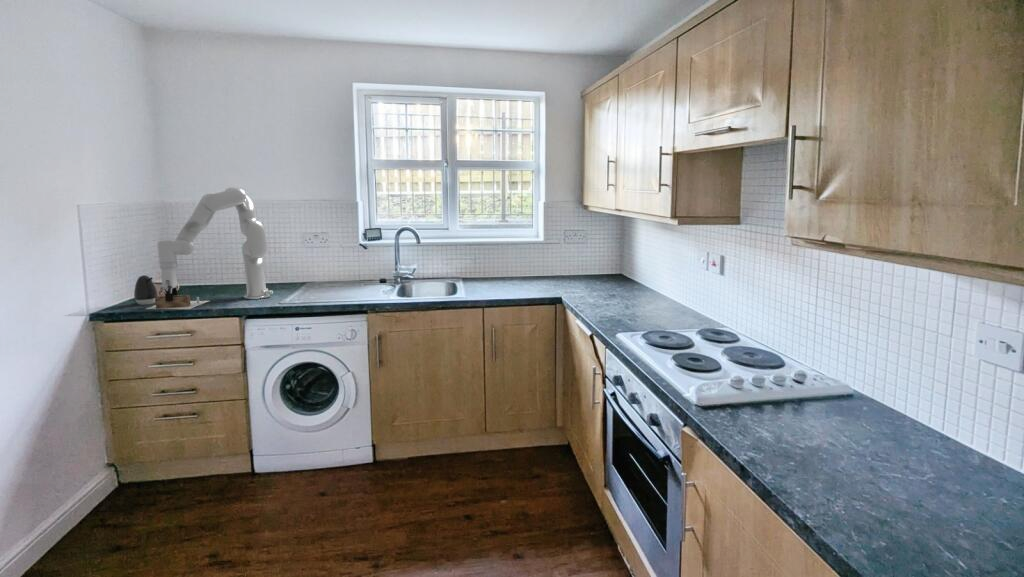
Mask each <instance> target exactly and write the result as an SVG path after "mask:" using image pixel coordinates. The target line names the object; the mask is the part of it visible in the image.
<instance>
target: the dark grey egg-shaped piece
mask: <svg viewBox="0 0 1024 577" xmlns="http://www.w3.org/2000/svg"><path fill="white" fill-rule="evenodd" d="M133 293H134V294H133V295H134V296H133V298H134V300H135V302H136V304H138V305H141V306H144V305H145V306H147V305H153V304H156V303H155V299H156V298H157V297H158V293H157V290H156V287H155V285H154V281H153V277H150V276H148V275H145V274H144V275H141V276H139V277H138V278H137V280H136V282H135V287H134V291H133Z"/></svg>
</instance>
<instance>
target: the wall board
mask: <svg viewBox="0 0 1024 577" xmlns="http://www.w3.org/2000/svg"><path fill="white" fill-rule="evenodd" d="M195 299H196V300H190V302H191V305H190V306H189V307H176V308H161V309H160V310H190V309H193V308H195V307H196V308H197V306H198V307H199V306H201V305H204V304H206V303H208V302H209V303H210V300H200V296H196V298H195ZM145 310H157V309H156V304H155V305H152V306H149V307H146V308H145Z"/></svg>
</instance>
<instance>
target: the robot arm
mask: <svg viewBox="0 0 1024 577" xmlns="http://www.w3.org/2000/svg"><path fill="white" fill-rule="evenodd" d="M233 207H235V209H236V211H237V214H238V219H239V228H240V232H241V233H242V235H244V237H245V238H246V241H244V242H243V244H242V247H241V253H242V257H243V262H244V274H245V283H246V284H245V285H246V294H245V295H244V296H243V298H244V299H247V300H259V299H260V298H261V299H265V298H269V297H270V295H273V294H274V291H273V289H271V290H269V288H268V287H266V275H265V262H264V258H265V257H266V255H267V253H268V243H267V242H268V241H267V235H266V230H265V226H264V224H262V223H261V222H260V221H258V217H257V214H256V208H255V204H254V202H253V201H252V200H251V198H250V197H249V196H248V195H247V194H246V192H245V190H243V189H242V188H240V187H228V188H226V189H224V191H220V192H215V193H206V194H203V196H202V197H201V198H200V200H199V202H198V204H197V205H196V207H195V209H194V210H193V213H192V214H191V215H190V218H189V219H188V220H187V222H186V223H185V224H184V225H183V227H182V228H181V230H180V232H179V233H178V234H177V236H176V238H175V240H170V239H169V240H168V239H165V240H164V239H163V240H159V241H158V242H157V252H158V254H157V255H158V261H159V262H158V263H159V269H160V270H161V274H160V275H161V276H162V289H165V300H166V301H173V296H175V295H178V291H177V290H176V289H177V287H178V286H177V283H178V279H177V278H178V277H177V270H176V269H178V266H179V265H178V259H177V258H178V257H177V255H181V256H182V255H183V256H188V255H191V254H193V252H194V251H195V244H194V243H193V242H194V241H195V239H196V238H197V236H198V235H199V234H200V233H201V232H202V231H204V230H205V229H207V227H208V226H209V224H210V223H211V222H212V221H211V220H212V219H213V217H214V216H215V214H216V212H217V211H222V210H226V209H229V208H233ZM161 276H160V277H161Z"/></svg>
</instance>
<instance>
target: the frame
mask: <svg viewBox="0 0 1024 577" xmlns="http://www.w3.org/2000/svg"><path fill="white" fill-rule="evenodd" d="M190 301H191V294H179V295H175V296H173V301H166V300H165V296H158V297H157V298H156V299H155V303H154V304H155V305H156V309H155V310H162V309H161V308H176V307H189V306H190V305H191V302H190Z"/></svg>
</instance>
